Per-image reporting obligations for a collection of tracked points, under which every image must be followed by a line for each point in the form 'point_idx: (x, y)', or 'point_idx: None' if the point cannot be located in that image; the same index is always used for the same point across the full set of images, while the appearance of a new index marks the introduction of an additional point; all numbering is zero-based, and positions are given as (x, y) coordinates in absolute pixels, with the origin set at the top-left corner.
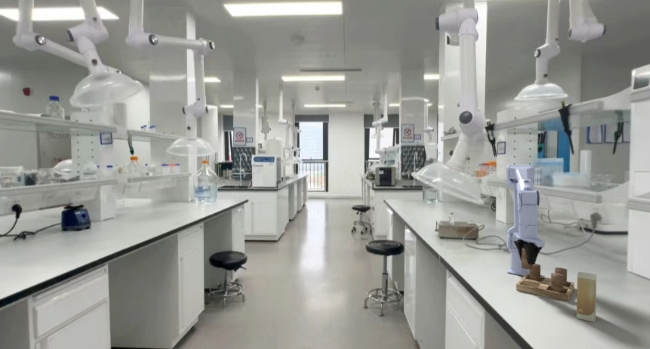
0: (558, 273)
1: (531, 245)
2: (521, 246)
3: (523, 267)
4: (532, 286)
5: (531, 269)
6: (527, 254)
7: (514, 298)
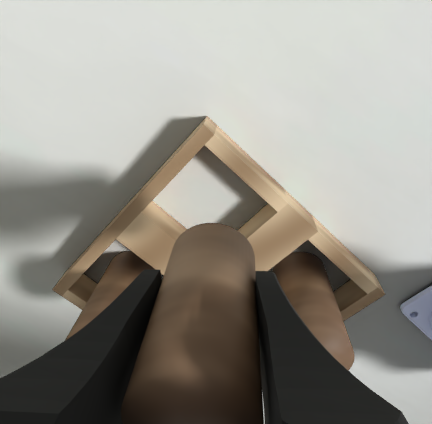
0: None
1: None
2: (274, 409)
3: (199, 229)
4: (240, 231)
5: (303, 311)
6: (106, 327)
7: (65, 20)
